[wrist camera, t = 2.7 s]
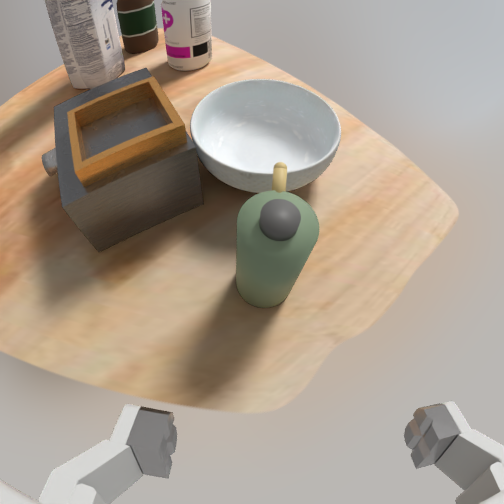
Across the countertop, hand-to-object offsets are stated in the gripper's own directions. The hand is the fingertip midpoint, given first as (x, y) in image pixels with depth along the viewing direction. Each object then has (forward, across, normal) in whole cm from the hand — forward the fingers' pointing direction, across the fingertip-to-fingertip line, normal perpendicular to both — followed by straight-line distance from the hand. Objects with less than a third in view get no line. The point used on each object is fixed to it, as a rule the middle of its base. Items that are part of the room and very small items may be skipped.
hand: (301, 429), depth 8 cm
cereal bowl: (+33, +1, -7) cm, 34 cm away
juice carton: (+47, +33, -22) cm, 62 cm away
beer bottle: (+57, +28, -32) cm, 71 cm away
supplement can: (+50, +15, -25) cm, 58 cm away
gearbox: (+30, +19, -4) cm, 35 cm away
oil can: (+22, 0, +4) cm, 22 cm away
